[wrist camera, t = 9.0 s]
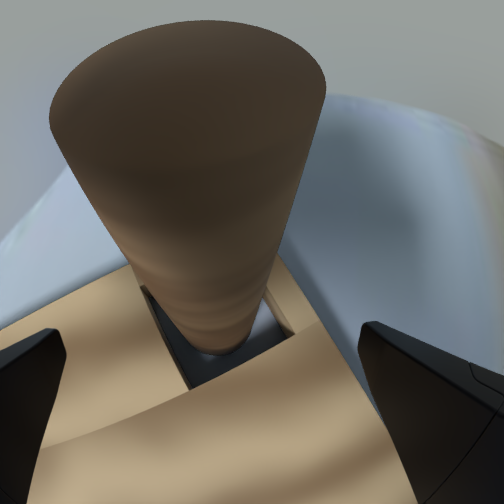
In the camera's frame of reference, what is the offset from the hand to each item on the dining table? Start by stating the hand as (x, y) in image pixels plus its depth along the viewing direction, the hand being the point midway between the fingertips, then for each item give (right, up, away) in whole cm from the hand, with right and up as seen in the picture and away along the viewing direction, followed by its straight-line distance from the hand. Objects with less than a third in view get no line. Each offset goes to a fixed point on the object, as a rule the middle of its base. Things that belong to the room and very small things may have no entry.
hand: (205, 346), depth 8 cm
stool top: (-3, -9, +5) cm, 11 cm away
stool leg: (-1, -1, +9) cm, 9 cm away
